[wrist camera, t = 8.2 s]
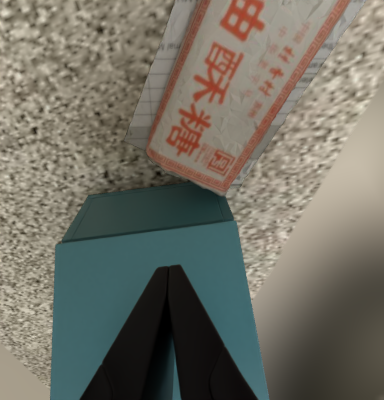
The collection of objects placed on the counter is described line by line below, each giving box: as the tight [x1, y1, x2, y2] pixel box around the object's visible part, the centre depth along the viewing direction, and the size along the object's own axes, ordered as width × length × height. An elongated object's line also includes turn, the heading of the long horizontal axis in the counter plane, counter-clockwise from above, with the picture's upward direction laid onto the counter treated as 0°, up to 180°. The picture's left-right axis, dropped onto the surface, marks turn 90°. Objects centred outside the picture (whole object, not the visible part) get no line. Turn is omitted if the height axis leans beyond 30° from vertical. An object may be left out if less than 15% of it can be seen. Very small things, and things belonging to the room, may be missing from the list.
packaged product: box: [124, 0, 366, 197], centre depth 14 cm, size 18×5×10 cm
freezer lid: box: [50, 221, 269, 400], centre depth 12 cm, size 13×11×5 cm
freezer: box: [62, 182, 234, 243], centre depth 22 cm, size 12×11×6 cm
